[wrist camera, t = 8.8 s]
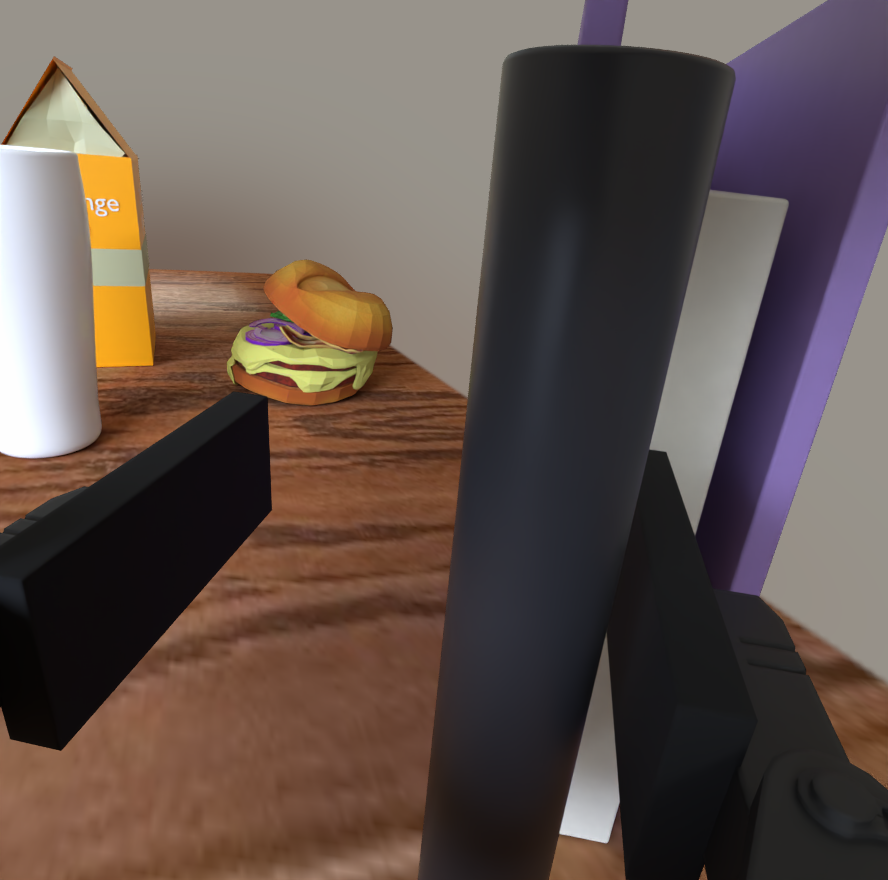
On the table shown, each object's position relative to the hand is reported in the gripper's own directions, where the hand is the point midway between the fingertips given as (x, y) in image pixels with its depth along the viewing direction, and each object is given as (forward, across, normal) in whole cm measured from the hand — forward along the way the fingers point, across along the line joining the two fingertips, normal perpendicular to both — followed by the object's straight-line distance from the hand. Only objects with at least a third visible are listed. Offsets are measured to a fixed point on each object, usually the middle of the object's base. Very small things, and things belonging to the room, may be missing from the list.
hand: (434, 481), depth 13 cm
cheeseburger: (+31, -15, -10) cm, 36 cm away
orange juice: (+32, -33, -10) cm, 47 cm away
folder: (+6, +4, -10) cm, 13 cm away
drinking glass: (+17, -24, -10) cm, 31 cm away
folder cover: (+3, +2, -10) cm, 10 cm away
